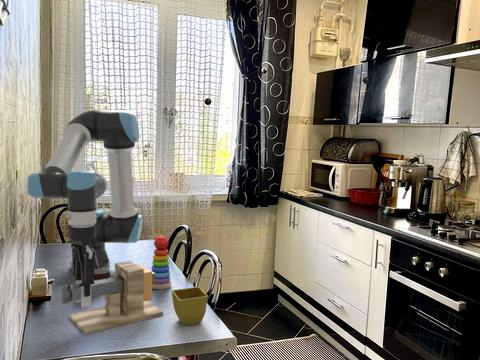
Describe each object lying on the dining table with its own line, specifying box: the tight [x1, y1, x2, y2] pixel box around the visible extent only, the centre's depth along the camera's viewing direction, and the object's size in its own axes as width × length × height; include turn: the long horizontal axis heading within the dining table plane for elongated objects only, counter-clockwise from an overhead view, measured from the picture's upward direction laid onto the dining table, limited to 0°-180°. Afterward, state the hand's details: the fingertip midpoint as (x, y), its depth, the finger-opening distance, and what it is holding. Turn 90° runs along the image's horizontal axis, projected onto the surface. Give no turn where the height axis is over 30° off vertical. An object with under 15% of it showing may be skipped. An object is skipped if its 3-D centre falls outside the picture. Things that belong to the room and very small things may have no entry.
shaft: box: [59, 272, 155, 305], centre depth 134 cm, size 5×28×5 cm, turn 127°
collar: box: [137, 263, 153, 302], centre depth 140 cm, size 9×3×9 cm, turn 38°
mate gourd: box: [92, 248, 111, 281], centre depth 158 cm, size 8×8×15 cm
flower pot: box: [171, 286, 209, 327], centre depth 133 cm, size 9×9×9 cm
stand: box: [69, 260, 164, 336], centre depth 135 cm, size 14×24×15 cm, turn 128°
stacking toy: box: [150, 235, 172, 290], centre depth 162 cm, size 8×8×19 cm
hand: (83, 303), depth 129 cm, fingers closed on shaft, 3 cm apart
